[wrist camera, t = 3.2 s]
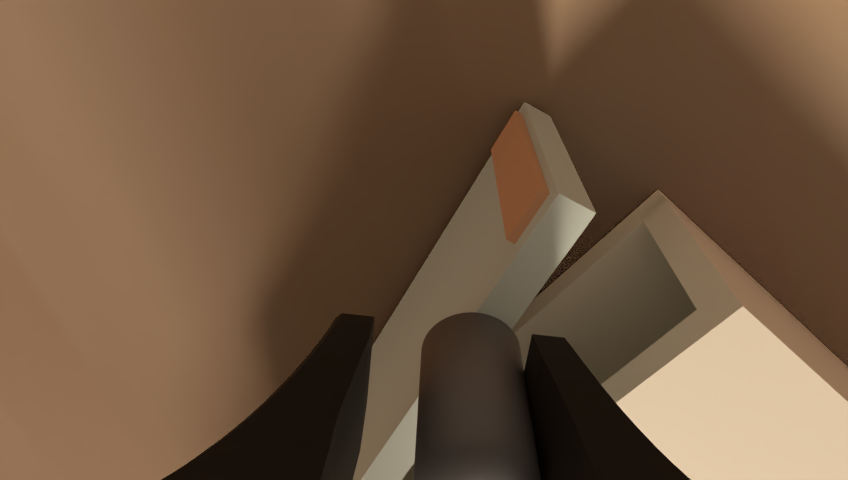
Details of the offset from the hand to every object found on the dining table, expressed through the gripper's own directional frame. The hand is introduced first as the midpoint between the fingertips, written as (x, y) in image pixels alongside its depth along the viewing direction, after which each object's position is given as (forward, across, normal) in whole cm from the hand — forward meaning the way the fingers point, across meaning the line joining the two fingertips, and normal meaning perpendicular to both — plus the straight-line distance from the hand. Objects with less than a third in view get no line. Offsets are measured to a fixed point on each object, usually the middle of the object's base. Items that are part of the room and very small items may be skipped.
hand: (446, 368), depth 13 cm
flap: (+7, +1, +4) cm, 8 cm away
